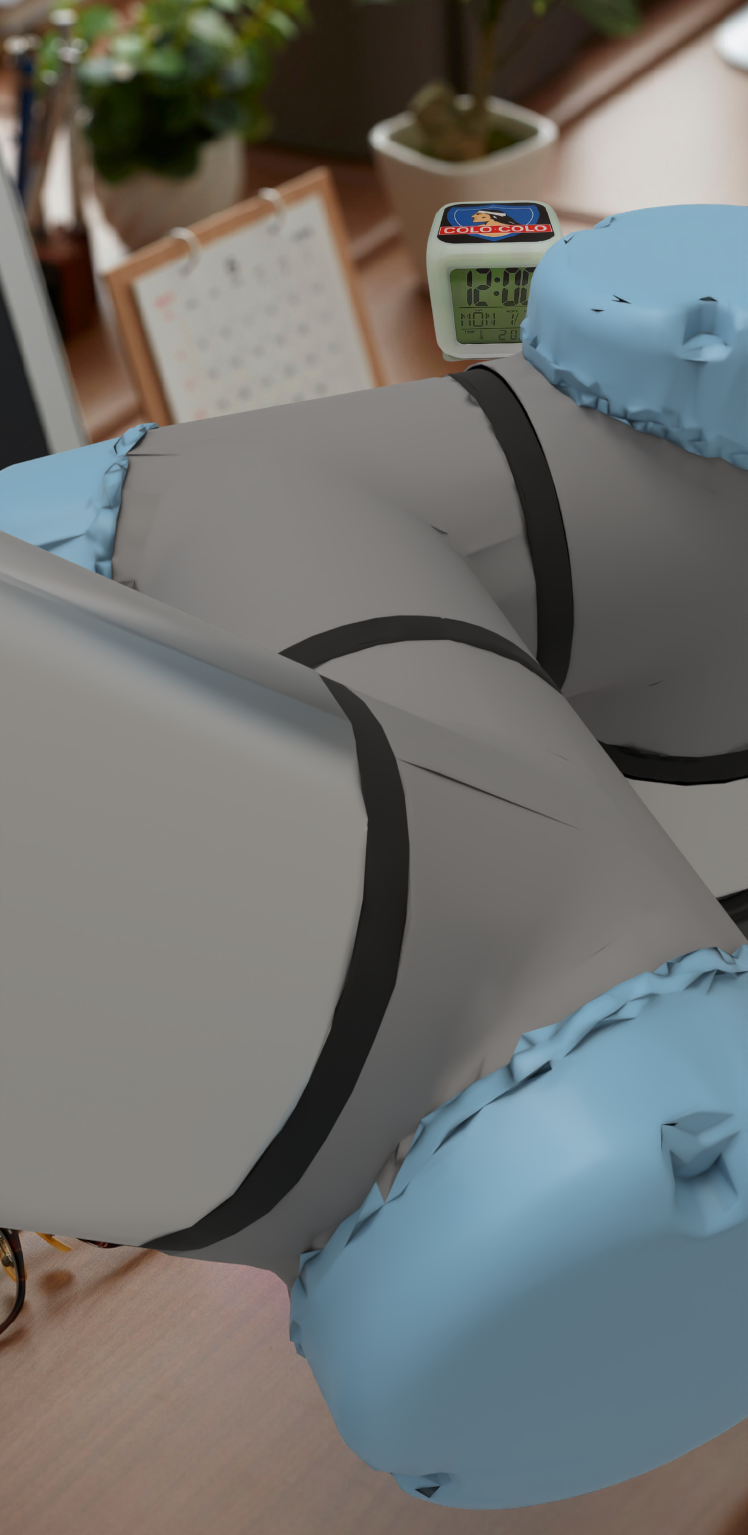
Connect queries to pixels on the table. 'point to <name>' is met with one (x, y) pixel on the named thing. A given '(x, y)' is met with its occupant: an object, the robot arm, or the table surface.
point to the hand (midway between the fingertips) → (622, 1287)
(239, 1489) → the table surface
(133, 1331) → the table surface
